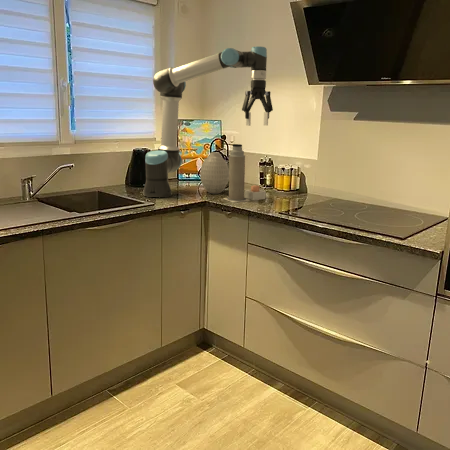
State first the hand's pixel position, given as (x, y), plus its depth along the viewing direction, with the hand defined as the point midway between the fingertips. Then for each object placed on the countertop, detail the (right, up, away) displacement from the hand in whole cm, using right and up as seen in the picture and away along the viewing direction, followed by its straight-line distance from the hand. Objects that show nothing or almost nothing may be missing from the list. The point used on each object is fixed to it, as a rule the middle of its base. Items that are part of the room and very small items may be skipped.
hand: (257, 125), depth 238 cm
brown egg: (0, -34, +9) cm, 35 cm away
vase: (-22, -33, +24) cm, 46 cm away
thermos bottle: (-10, -37, +5) cm, 39 cm away
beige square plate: (-10, -38, +5) cm, 39 cm away
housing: (0, -37, +10) cm, 38 cm away
